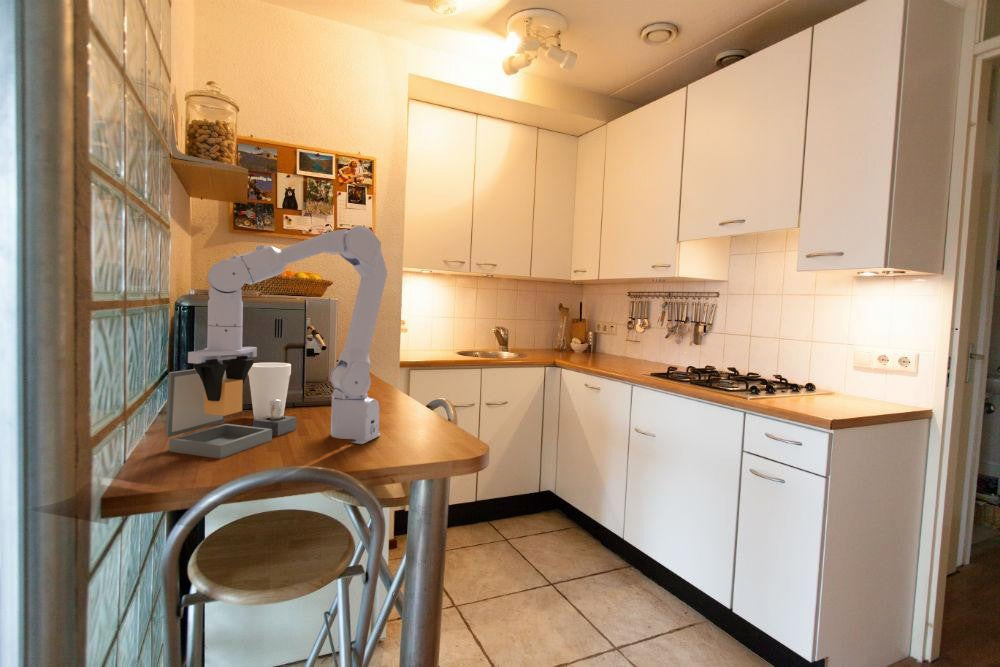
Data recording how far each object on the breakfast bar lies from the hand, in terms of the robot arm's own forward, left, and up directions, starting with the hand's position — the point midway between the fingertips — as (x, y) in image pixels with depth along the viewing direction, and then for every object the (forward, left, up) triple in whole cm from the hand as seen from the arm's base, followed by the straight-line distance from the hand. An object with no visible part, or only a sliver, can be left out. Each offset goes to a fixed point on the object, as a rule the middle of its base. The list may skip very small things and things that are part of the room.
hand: (224, 398), depth 94 cm
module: (0, 0, -3) cm, 3 cm away
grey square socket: (-1, -12, -10) cm, 16 cm away
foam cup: (+10, -24, -10) cm, 28 cm away
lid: (+5, 0, -1) cm, 5 cm away
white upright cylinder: (-2, -12, -9) cm, 16 cm away
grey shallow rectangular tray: (0, 0, -10) cm, 10 cm away
